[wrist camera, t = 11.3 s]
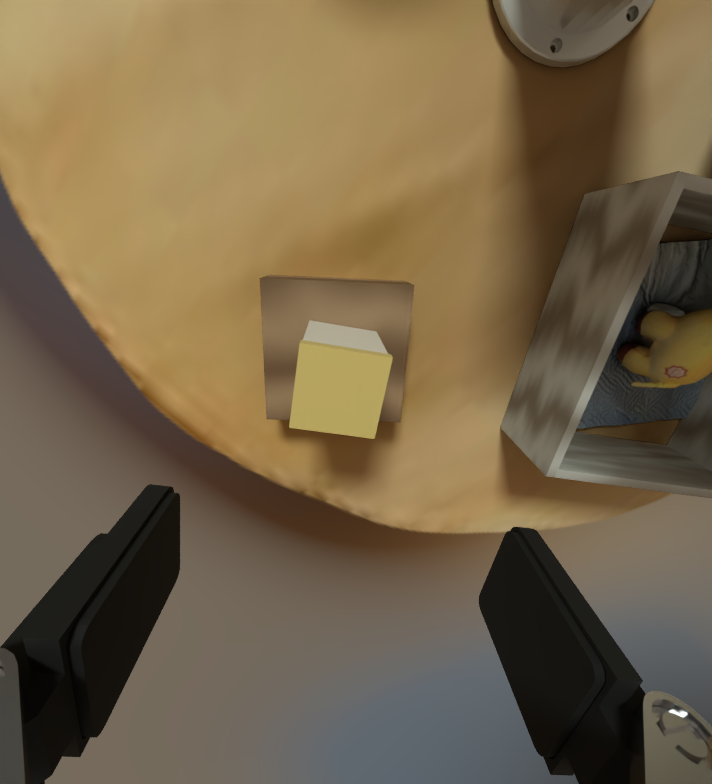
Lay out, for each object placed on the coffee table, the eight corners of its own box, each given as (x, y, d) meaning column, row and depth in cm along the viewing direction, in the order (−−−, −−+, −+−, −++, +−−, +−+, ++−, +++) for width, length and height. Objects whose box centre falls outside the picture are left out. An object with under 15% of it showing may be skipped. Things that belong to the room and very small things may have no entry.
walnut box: (271, 274, 32) (259, 278, 27) (403, 280, 33) (414, 285, 28) (275, 397, 36) (266, 419, 32) (392, 401, 37) (400, 422, 32)
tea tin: (308, 318, 28) (299, 342, 21) (377, 330, 29) (392, 357, 22) (299, 384, 30) (289, 427, 23) (364, 394, 31) (374, 439, 24)
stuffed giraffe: (746, 237, 32) (1082, 235, 17) (685, 415, 39) (885, 521, 24) (566, 249, 32) (747, 257, 17) (538, 424, 39) (650, 534, 25)
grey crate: (584, 193, 30) (678, 171, 22) (789, 240, 33) (945, 236, 24) (500, 427, 38) (545, 476, 30) (669, 452, 40) (756, 504, 32)
